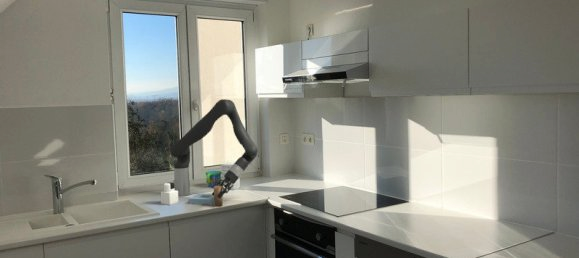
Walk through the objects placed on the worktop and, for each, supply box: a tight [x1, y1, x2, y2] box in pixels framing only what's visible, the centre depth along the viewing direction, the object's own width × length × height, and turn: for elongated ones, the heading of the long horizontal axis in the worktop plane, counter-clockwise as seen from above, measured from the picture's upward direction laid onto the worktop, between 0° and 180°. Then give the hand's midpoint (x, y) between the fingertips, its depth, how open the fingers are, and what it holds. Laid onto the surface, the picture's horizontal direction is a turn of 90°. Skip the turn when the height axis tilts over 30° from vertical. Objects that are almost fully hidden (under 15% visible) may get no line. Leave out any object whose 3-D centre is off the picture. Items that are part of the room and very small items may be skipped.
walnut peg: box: [213, 186, 224, 207], centre depth 277 cm, size 5×5×11 cm
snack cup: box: [205, 170, 222, 188], centre depth 334 cm, size 16×10×10 cm
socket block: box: [188, 193, 214, 205], centre depth 289 cm, size 14×14×3 cm
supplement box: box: [220, 162, 241, 191], centre depth 326 cm, size 10×9×17 cm
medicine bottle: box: [160, 181, 179, 206], centre depth 286 cm, size 7×7×12 cm
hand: (215, 196), depth 276 cm, fingers open, 7 cm apart
